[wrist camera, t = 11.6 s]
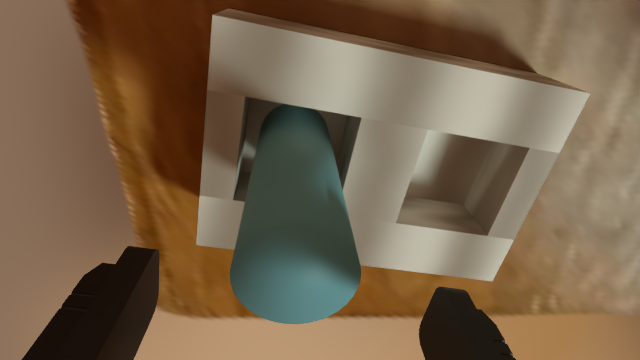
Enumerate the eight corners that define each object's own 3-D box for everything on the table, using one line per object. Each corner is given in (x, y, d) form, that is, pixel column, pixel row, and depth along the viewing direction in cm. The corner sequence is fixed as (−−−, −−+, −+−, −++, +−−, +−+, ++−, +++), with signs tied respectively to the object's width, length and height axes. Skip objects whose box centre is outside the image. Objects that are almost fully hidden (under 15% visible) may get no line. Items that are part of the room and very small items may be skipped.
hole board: (537, 73, 23) (590, 93, 19) (463, 238, 28) (492, 281, 24) (228, 8, 20) (212, 14, 16) (211, 203, 25) (196, 244, 21)
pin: (335, 109, 22) (375, 232, 11) (321, 171, 24) (344, 328, 13) (264, 96, 21) (237, 214, 11) (255, 161, 23) (224, 317, 12)
